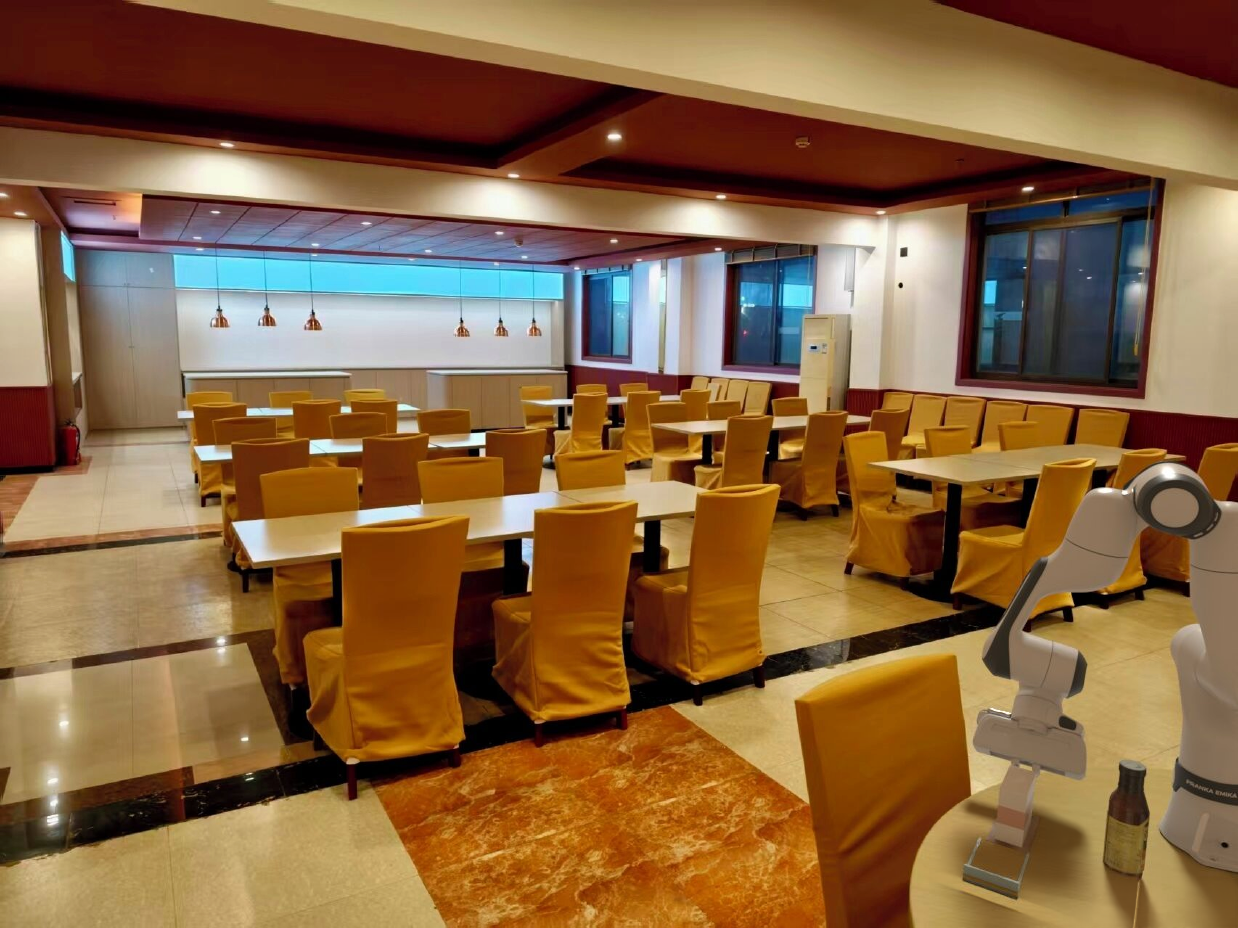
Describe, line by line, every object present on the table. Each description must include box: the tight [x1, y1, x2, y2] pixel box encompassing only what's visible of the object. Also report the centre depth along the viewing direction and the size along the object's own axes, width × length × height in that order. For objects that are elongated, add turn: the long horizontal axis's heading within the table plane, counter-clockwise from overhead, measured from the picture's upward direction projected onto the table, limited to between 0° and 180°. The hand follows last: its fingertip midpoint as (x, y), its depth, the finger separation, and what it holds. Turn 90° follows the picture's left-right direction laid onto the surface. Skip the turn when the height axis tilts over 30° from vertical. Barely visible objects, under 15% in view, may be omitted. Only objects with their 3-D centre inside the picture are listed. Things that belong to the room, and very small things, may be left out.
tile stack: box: [995, 764, 1037, 847], centre depth 157 cm, size 4×10×10 cm, turn 146°
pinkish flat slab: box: [985, 815, 1041, 854], centre depth 158 cm, size 7×14×2 cm, turn 146°
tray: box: [962, 837, 1031, 901], centre depth 147 cm, size 8×12×3 cm
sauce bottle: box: [1102, 759, 1151, 882], centre depth 146 cm, size 7×6×20 cm
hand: (1021, 785), depth 164 cm, fingers closed
